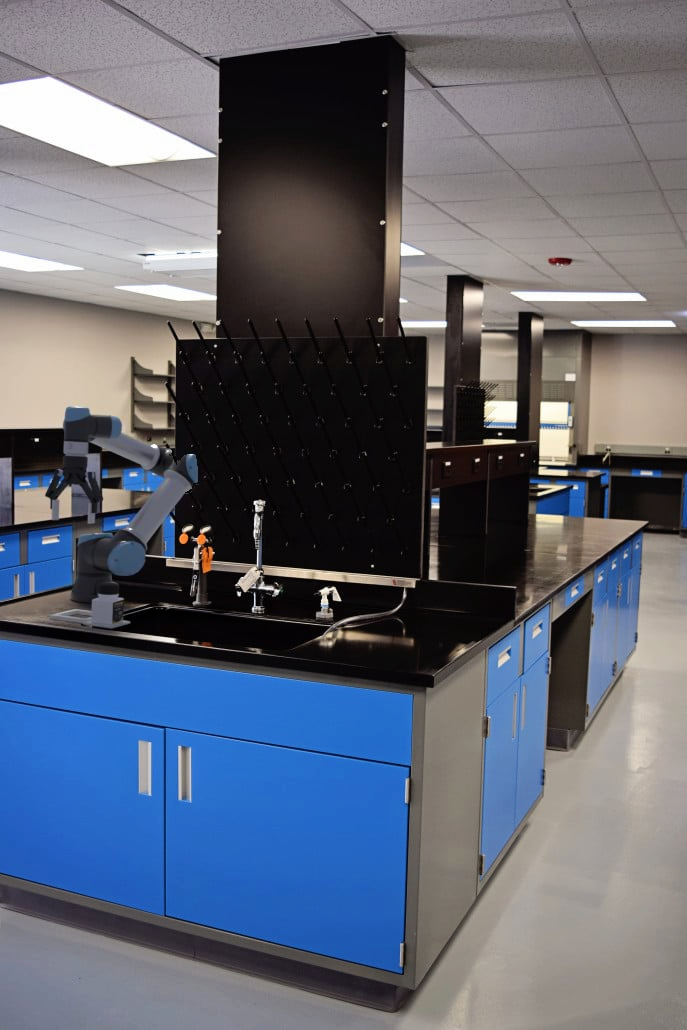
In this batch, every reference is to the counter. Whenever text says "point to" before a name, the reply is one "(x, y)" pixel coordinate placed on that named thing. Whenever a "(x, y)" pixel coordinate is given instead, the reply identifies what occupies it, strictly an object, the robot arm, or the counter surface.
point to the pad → (106, 624)
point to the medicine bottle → (107, 604)
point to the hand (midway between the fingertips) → (73, 521)
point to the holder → (66, 617)
